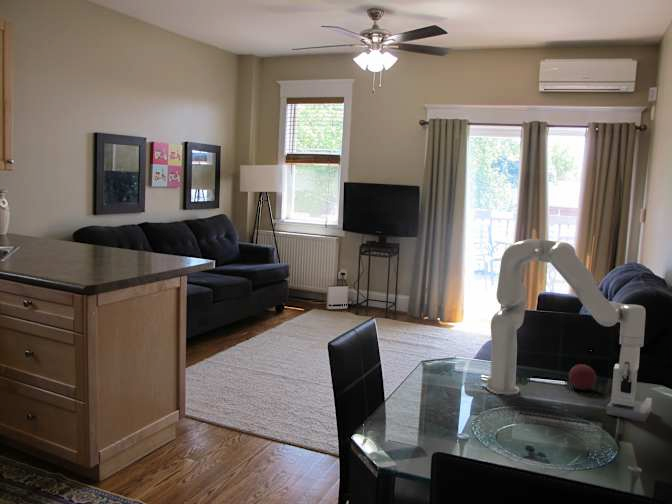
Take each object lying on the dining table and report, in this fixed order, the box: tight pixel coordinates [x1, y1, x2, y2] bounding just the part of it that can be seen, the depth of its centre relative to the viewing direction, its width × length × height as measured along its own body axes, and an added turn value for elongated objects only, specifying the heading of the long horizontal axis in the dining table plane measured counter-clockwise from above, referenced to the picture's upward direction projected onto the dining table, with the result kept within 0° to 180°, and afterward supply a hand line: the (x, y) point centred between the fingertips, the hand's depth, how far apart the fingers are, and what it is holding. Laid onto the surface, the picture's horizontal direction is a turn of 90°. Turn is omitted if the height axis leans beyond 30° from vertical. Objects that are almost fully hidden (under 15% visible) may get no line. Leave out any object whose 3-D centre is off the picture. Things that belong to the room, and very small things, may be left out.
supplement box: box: [610, 363, 638, 407], centre depth 208 cm, size 7×7×13 cm
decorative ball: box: [568, 363, 597, 391], centre depth 233 cm, size 10×10×10 cm
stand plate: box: [605, 397, 652, 423], centre depth 208 cm, size 12×12×5 cm
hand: (628, 389), depth 208 cm, fingers closed on supplement box, 7 cm apart
